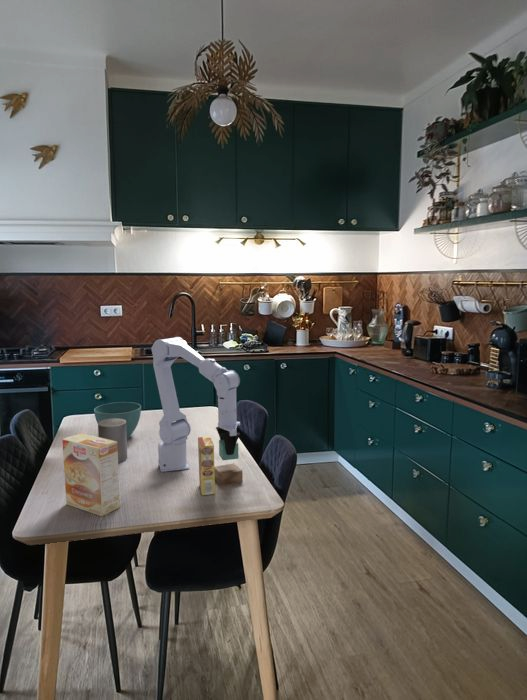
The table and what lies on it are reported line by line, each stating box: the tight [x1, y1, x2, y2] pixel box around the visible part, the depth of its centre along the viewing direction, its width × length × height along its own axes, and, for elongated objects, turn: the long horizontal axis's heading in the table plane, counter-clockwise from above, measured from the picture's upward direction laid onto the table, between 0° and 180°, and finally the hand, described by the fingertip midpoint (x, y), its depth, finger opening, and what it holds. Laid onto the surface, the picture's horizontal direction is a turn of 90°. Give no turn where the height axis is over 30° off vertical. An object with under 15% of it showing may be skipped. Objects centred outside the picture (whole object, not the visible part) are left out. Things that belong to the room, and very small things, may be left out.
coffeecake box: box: [61, 432, 121, 517], centre depth 144 cm, size 15×7×20 cm, turn 58°
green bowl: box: [93, 401, 142, 439], centre depth 207 cm, size 18×18×12 cm
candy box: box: [197, 436, 216, 496], centre depth 156 cm, size 9×4×15 cm, turn 13°
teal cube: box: [218, 439, 239, 461], centre depth 163 cm, size 5×5×5 cm
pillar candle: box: [97, 418, 128, 464], centre depth 182 cm, size 10×10×15 cm
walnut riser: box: [214, 462, 244, 487], centre depth 164 cm, size 7×7×4 cm
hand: (227, 451), depth 163 cm, fingers closed on teal cube, 5 cm apart
